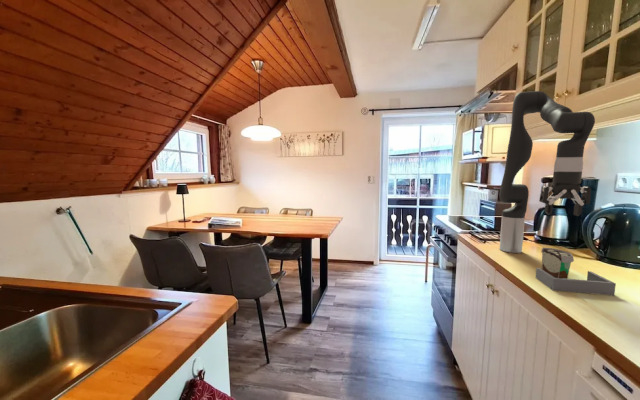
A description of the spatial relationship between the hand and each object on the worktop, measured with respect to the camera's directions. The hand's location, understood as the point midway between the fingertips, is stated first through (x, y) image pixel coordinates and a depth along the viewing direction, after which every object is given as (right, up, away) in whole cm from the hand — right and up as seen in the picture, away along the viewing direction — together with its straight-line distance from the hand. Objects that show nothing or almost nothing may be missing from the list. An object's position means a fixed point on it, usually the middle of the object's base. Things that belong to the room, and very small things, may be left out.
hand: (562, 215), depth 97 cm
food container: (+1, -24, +3) cm, 24 cm away
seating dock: (0, -25, -4) cm, 25 cm away
